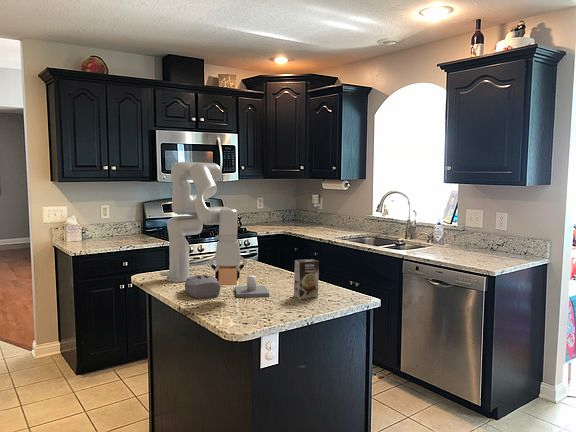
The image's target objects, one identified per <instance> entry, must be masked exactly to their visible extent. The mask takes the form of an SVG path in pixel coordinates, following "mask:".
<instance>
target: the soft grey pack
mask: <svg viewBox="0 0 576 432" xmlns="http://www.w3.org/2000/svg"><path fill="white" fill-rule="evenodd" d="M190 276H191V277H189V278H187V279H186V281H185V282H184V290H185V291H186V292H187V294H188V295H189V296H191V297H192V298H195V299H209V298H211V299H212V298H215V297H218V296H219V295H220V292H221V286H219V284H218V281H217V279H215V277H214V276H212V275H208V274H198V275H197V274H196V275H190Z"/></svg>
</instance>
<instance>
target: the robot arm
mask: <svg viewBox="0 0 576 432" xmlns="http://www.w3.org/2000/svg"><path fill="white" fill-rule="evenodd" d="M170 175H171V181H172V197H171V200H172V201H171V210H172V212H173V214H176V215H180V216H172V217H171V218H169V219H168V220H167V223H166V224H167V225H166V227H167V228H166V229H167V233H168V241H169V245H168V246H169V251H168V252H169V270H166V271H160V274H159V275H160V276H161V277H166V281H167V282H171V283H185V281H186V279H187V278H189V277H191V276H192V275H190V243H189V242H188V240H187V239H186V236H192V235H194V236H195V235H199V234H201V233H202V232H203V227H204V226H203V225H205V226H212V225H219V226H218V234H217V235H215V240H216V239H217V240H218V241H217V243H216V245H215V247H216V248H215V255H214V256H213V257H211V258H210V259H209V260H208V261H207V263H208V265H209V266H210V267H211V268H212V270H214V271H215V273H214V274H215V277H214V278H215V279H216V280H217V281H219V271H218V269H219V268H220V266H235V267H237V282H238V281H239V279H240V277H241V276H240V274H241V272H240V271H241V270H243V268H245V266H246V265H247V263H248V260H247V259H245V257H243V256H241V248H240V242H239V241H238V218H239V216H238V210H237V209H235V208H230V207H228V206H207V205H206V203H205V201H206V200H208V199H210V198H211V197H213V196H215V194H216V193H217V191H218V187H217V184H216V182H218V181H220V180H221V178H222V169H221V167H220V166H219V165H218V164H217V163H215V162H197V161H196V162H195V161H194V162H193V161H179V162H176V163H174V164H173V165H172V166H171V171H170ZM190 181H192V182H193V184H194V186H195V188H196V191H197V192H198V194H191V193H192V192H191V190H192V185H191V184H190ZM214 261H215V264H214V263H213V262H214ZM241 262H242V263H241Z"/></svg>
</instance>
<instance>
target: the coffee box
mask: <svg viewBox="0 0 576 432" xmlns="http://www.w3.org/2000/svg"><path fill="white" fill-rule="evenodd" d="M319 264H320V261H319V260H316V259H313V258H311V259H310V258H308V259H295V260H294V279H293V283H294V284H293V287H294V288H293V296H294V297H295V298H298V299H299V300H302V299H303V300H305V299H312V298H311V297H316V298H319V277H320V276H319V274H320V272H319V271H320V265H319ZM304 298H305V299H304Z"/></svg>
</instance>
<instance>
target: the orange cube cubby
mask: <svg viewBox="0 0 576 432" xmlns="http://www.w3.org/2000/svg"><path fill="white" fill-rule="evenodd" d="M218 271H219V281H218V284H219V286H237V285H238V281H237V267H235V266H220V268H219V269H218Z"/></svg>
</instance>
